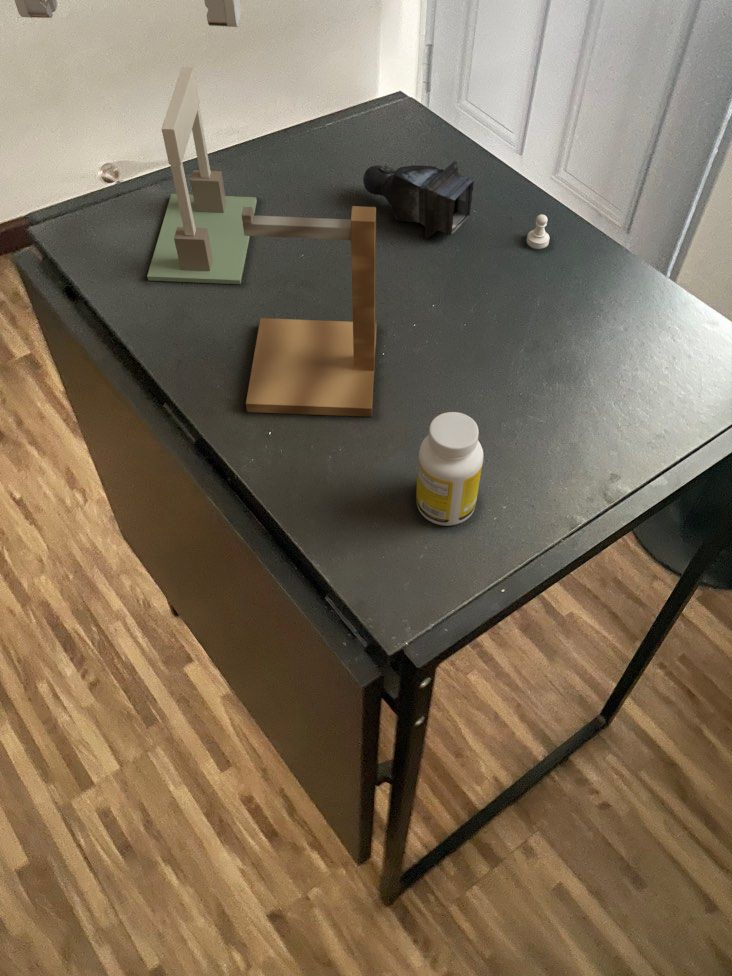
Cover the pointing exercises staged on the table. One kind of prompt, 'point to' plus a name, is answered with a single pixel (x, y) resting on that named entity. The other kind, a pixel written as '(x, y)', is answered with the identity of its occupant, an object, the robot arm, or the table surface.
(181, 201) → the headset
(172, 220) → the mat
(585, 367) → the table surface
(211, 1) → the robot arm
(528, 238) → the chess pawn
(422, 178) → the dark knob-ended part
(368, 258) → the stand
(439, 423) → the supplement bottle
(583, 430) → the table surface
